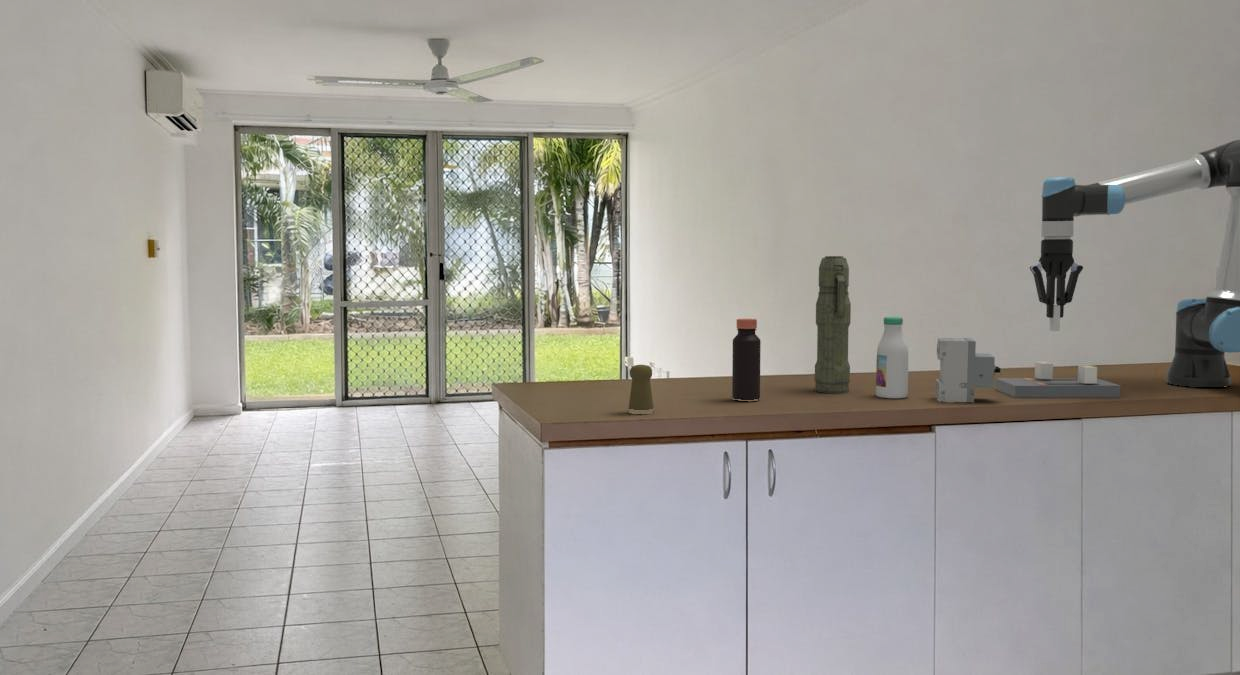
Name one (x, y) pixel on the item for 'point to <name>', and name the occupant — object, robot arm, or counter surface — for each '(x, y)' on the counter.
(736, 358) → the vinegar
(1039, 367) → the light grey block
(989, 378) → the circuit breaker
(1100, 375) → the counter surface
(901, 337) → the milk bottle
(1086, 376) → the white block
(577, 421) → the counter surface
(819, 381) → the thermos
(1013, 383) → the panel
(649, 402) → the olive green shaker
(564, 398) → the counter surface
